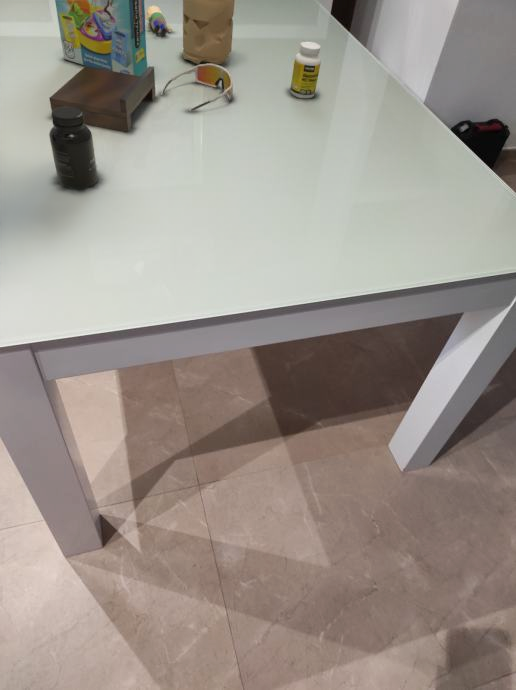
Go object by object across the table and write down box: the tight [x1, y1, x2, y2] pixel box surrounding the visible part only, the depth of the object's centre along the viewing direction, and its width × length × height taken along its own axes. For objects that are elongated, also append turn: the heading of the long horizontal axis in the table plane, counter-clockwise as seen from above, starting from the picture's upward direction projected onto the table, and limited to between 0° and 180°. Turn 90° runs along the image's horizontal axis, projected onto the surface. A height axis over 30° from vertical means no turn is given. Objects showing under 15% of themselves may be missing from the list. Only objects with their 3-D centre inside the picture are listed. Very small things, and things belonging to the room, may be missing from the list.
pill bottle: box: [289, 41, 322, 99], centre depth 123 cm, size 6×6×11 cm
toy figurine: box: [145, 5, 173, 38], centre depth 144 cm, size 8×4×12 cm
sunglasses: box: [160, 62, 234, 112], centre depth 118 cm, size 14×15×5 cm
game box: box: [54, 0, 148, 76], centre depth 115 cm, size 20×6×27 cm, turn 65°
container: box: [182, 0, 236, 65], centre depth 128 cm, size 13×13×18 cm
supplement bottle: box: [48, 106, 98, 190], centre depth 87 cm, size 7×7×12 cm
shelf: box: [49, 65, 156, 133], centre depth 108 cm, size 16×18×6 cm
